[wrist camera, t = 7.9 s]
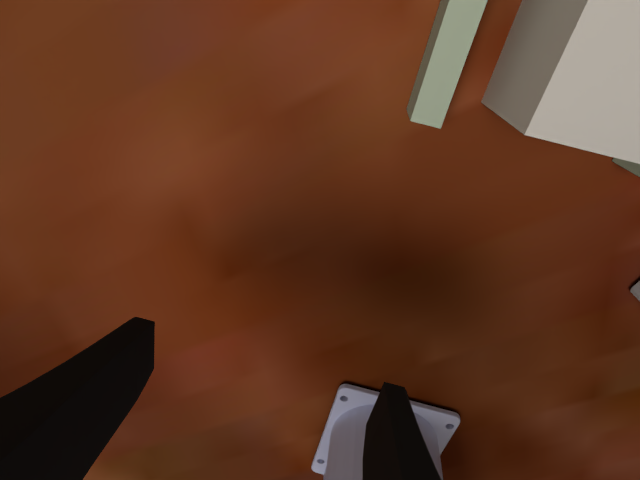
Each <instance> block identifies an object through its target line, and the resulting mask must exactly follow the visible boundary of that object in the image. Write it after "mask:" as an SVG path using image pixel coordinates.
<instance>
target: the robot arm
mask: <svg viewBox="0 0 640 480" xmlns="http://www.w3.org/2000/svg"><path fill="white" fill-rule="evenodd" d="M154 326H155V322H154V321H150V320H146V319H142V318H138V317H134V318H132V319H130V320H129V321H127V322H126V323H124V324H123V325H121V326H120V327H118V328H117V329H115V330H114V331H112V332H111V333H109V334H108V335H106V336H105V337H103V338H102V339H100V340H99V341H97V342H96V343H94V344H93V345H91V346H90V347H88V348H86V349H85V350H83V351H82V352H80V353H78V354H77V355H75V356H74V357H72V358H70V359H69V360H67V361H66V362H64V363H62V364H61V365H59V366H57V367H56V368H54V369H52V370H50V371H49V372H47V373H45V374H43V375H42V376H40V377H38V378H36V379H35V380H33V381H31V382H29V383H28V384H26V385H24V386H22V387H20V388H18V389H16V390H15V391H13V392H11V393H9V394H7V395H5V396H3V397H1V398H0V480H83V478H84V477H85V475H86V474H87V472H88V470H89V469H90V467H91V466H92V465H93V463H94V462H95V460H96V459H97V457H98V456H99V455H100V453H101V452H102V450H103V449H104V447H105V446H106V444H107V443H108V442H109V440H110V439H111V437H112V436H113V434H114V433H115V432H116V430H117V429H118V427H119V426H120V424H121V423H122V421H123V420H124V418H125V417H126V416H127V414H128V413H129V411H130V410H131V408H132V407H133V405H134V404H135V402H136V401H137V399H138V397H139V396H140V394H141V392H142V390H143V388H144V387H145V385H146V383H147V381H148V379H149V377H150V375H151V373H152V371H153V369H154ZM344 396H346V397H344ZM459 424H460V416H459V414H458V413H456V412H453V411H449V410H445V409H441V408H437V407H434V406H430V405H426V404H422V403H418V402H415V401H411V400H409V398H408V395H407V392H406V390H405V388H404V387H402V386H398V385H394V384H390V383H386V382H384V384H383V386H382V389H381V391H380V392H377V391H373V390H369V389H365V388H361V387H357V386H354V385H350V384H342V385H340V386H339V388H338V391H337V394H336V397H335V399H334V402H333V405H332V408H331V411H330V414H329V416H328V419H327V422H326V425H325V428H324V431H323V434H322V436H321V439H320V442H319V445H318V448H317V451H316V453H315V456H314V459H313V462H312V470H313V471H314V472H316V473H320V474H324V479H323V480H443V474H442V466H441V459H440V455H441V453H442V452H443V450H444V448H445V447H446V445H447V443H448V442H449V440H450V438H451V437H452V435H453V434H454V432H455V430H456V429H457V427H458V425H459Z"/></svg>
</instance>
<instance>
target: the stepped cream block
mask: <svg viewBox="0 0 640 480" xmlns="http://www.w3.org/2000/svg"><path fill="white" fill-rule="evenodd" d="M481 103H483V104H484V105H485V106H487V107H488V108H489V109H491V110H492V111H493V112H495V113H496V114H497V115H499V116H500V117H501V118H503V119H504V120H505V121H507V122H508V123H509V124H511V125H512V126H513V127H515V128H516V129H517V130H519V131H520V132H521V133H523V134H524V135H527V136H531V137H535V138H539V139H543V140H547V141H551V142H555V143H559V144H563V145H567V146H571V147H575V148H578V149H582V150H586V151H590V152H594V153H598V154H602V155H606V156H610V157H614V158H618V159H622V160H626V161H630V162H634V163H638V164H640V0H522V2H521V4H520V7H519V9H518V12H517V14H516V17H515V19H514V22H513V24H512V27H511V29H510V32H509V34H508V37H507V39H506V42H505V44H504V47H503V49H502V52H501V54H500V57H499V59H498V62H497V64H496V67H495V69H494V72H493V74H492V76H491V79H490V81H489V84H488V86H487V89H486V91H485V94H484V96H483V99H482V101H481Z"/></svg>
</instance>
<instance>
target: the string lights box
mask: <svg viewBox="0 0 640 480" xmlns="http://www.w3.org/2000/svg"><path fill="white" fill-rule="evenodd" d="M630 292H631V293H632V294H633V295H634V296H635V297H636V298H637V299H638V300H639V301H640V281H639V282H637V283H636V284H635V285H634V286H633V287H632V288H631V290H630Z"/></svg>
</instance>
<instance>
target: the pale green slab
mask: <svg viewBox="0 0 640 480" xmlns="http://www.w3.org/2000/svg"><path fill="white" fill-rule="evenodd" d="M486 3H487V0H441V1H440V4H439V8H438V11H437V14H436V17H435V20H434V23H433V27H432V30H431V33H430V36H429V39H428V43H427V46H426V49H425V52H424V55H423V58H422V62H421V65H420V68H419V71H418V74H417V77H416V81H415V84H414V87H413V90H412V93H411V96H410V100H409V103H408V106H407V112H408V115H409V119H410V121H413V122H417V123H420V124H424V125H428V126H432V127H436V128H440V129H441V126H442V124H443V121H444V118H445V115H446V113H447V110H448V107H449V104H450V102H451V99H452V96H453V93H454V91H455V88H456V85H457V83H458V80H459V77H460V74H461V72H462V69H463V66H464V63H465V61H466V58H467V55H468V52H469V50H470V47H471V44H472V41H473V39H474V36H475V33H476V30H477V28H478V25H479V22H480V20H481V17H482V14H483V11H484V9H485V6H486ZM612 161H613V162H614V163H616V164H618V165H619V166H621V167H623V168H625V169H626V170H628V171H630V172H632V173H633V174H635V175H637V176H639V177H640V164H638V163H634V162H630V161H626V160H622V159H618V158H613V160H612Z"/></svg>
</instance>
